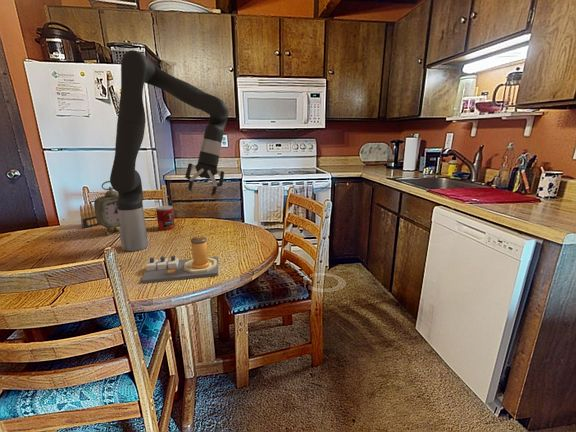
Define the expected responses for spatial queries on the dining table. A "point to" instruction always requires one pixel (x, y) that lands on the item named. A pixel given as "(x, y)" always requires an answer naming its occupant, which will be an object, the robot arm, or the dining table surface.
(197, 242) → the cap
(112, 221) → the tabletop clock
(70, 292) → the dining table surface
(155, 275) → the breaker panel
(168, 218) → the canned food
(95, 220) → the ammunition clip
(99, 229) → the dining table surface
